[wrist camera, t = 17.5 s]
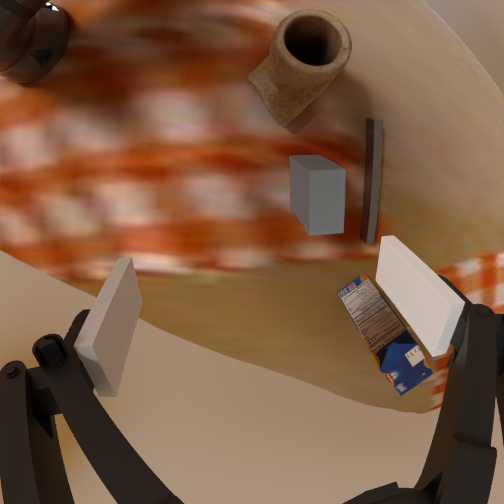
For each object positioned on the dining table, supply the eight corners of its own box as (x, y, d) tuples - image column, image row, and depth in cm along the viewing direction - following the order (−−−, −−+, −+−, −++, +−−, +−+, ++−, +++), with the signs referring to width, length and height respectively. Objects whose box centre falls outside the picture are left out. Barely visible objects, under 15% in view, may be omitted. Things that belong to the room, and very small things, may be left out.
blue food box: (363, 271, 61) (417, 343, 42) (384, 303, 66) (433, 373, 46) (336, 292, 63) (379, 370, 43) (359, 322, 67) (401, 396, 47)
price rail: (360, 237, 58) (366, 244, 55) (366, 118, 48) (374, 119, 45) (368, 237, 58) (374, 243, 55) (375, 118, 48) (383, 120, 45)
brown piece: (295, 16, 40) (324, -13, 26) (345, 68, 44) (390, 60, 31) (226, 76, 43) (229, 64, 30) (281, 128, 48) (305, 137, 34)
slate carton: (289, 155, 50) (309, 170, 39) (320, 154, 50) (347, 169, 40) (290, 208, 54) (309, 236, 43) (320, 205, 54) (345, 232, 44)
